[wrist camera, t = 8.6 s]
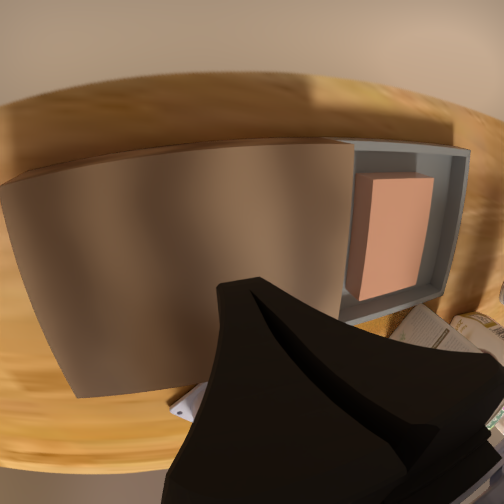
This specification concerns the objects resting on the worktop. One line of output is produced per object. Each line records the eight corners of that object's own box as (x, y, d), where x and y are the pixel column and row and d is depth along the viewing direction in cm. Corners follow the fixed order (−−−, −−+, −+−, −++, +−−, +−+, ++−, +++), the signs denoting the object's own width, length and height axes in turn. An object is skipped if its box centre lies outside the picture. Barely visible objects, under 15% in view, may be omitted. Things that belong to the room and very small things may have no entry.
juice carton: (480, 304, 35) (574, 381, 18) (455, 354, 38) (535, 433, 21) (453, 309, 32) (560, 403, 16) (425, 364, 35) (513, 458, 19)
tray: (453, 146, 22) (470, 150, 21) (430, 285, 28) (443, 295, 27) (318, 137, 19) (335, 140, 17) (309, 319, 25) (320, 334, 23)
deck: (318, 137, 19) (354, 144, 15) (309, 319, 25) (332, 351, 21) (26, 171, 14) (-3, 186, 11) (82, 359, 20) (77, 398, 17)
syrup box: (382, 342, 30) (471, 441, 17) (419, 297, 29) (520, 385, 16) (404, 355, 32) (482, 439, 20) (437, 316, 31) (523, 392, 19)
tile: (373, 179, 18) (355, 173, 20) (358, 301, 22) (345, 288, 24) (434, 177, 20) (416, 172, 22) (415, 284, 24) (401, 274, 26)
